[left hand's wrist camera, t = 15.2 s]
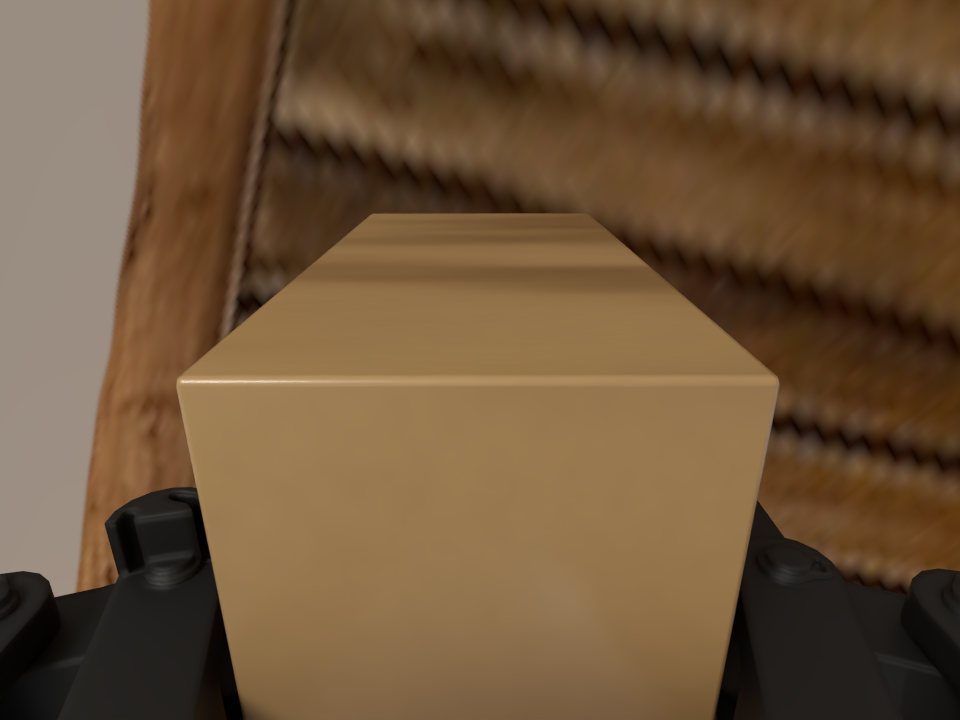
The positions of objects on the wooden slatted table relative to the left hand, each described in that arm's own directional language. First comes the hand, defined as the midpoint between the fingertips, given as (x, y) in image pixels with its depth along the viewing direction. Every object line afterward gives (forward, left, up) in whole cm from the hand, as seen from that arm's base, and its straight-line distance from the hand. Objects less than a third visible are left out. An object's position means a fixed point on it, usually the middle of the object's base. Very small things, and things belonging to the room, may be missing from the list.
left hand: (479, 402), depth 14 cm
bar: (-2, +7, -1) cm, 7 cm away
